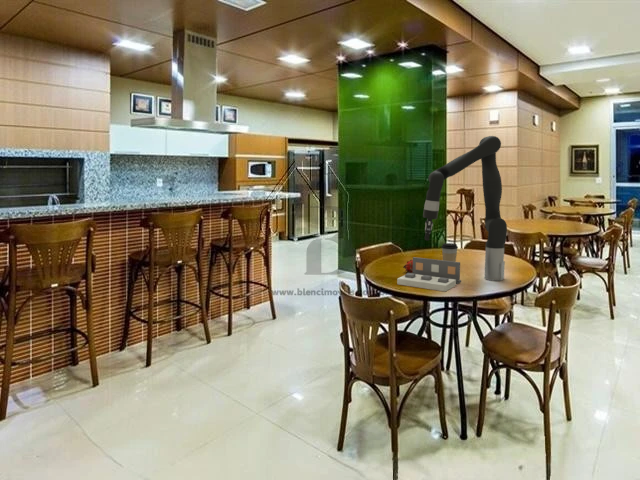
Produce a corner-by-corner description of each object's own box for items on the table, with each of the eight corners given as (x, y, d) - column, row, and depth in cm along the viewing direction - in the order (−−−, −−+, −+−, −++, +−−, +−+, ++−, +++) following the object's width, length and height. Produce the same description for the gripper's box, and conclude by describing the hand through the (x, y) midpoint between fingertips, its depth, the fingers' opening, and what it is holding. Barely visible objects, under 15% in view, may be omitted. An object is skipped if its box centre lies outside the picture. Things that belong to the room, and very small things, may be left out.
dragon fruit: (425, 275, 257) (404, 278, 256) (420, 264, 263) (400, 267, 262) (426, 265, 251) (405, 269, 250) (421, 254, 257) (401, 258, 256)
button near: (448, 284, 225) (448, 278, 225) (445, 285, 222) (445, 279, 221) (440, 282, 227) (441, 277, 227) (437, 284, 224) (437, 278, 224)
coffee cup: (459, 268, 265) (460, 243, 263) (454, 271, 257) (455, 246, 255) (443, 266, 270) (444, 242, 268) (438, 270, 262) (439, 244, 260)
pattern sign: (461, 282, 234) (461, 261, 233) (457, 284, 230) (457, 263, 228) (415, 275, 250) (415, 256, 248) (410, 277, 245) (410, 258, 243)
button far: (415, 279, 236) (415, 273, 235) (412, 280, 233) (412, 275, 232) (408, 278, 238) (408, 272, 238) (405, 279, 235) (405, 274, 234)
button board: (455, 285, 228) (456, 279, 228) (445, 291, 217) (445, 285, 217) (409, 278, 243) (409, 273, 243) (397, 284, 232) (397, 278, 232)
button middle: (431, 281, 230) (431, 275, 230) (428, 283, 227) (428, 277, 227) (424, 280, 233) (424, 274, 232) (421, 282, 230) (421, 276, 229)
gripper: (438, 211, 229) (434, 242, 232) (438, 209, 243) (433, 238, 245) (424, 209, 230) (419, 240, 233) (424, 207, 244) (419, 236, 247)
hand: (426, 239), depth 239 cm, fingers open, 8 cm apart
